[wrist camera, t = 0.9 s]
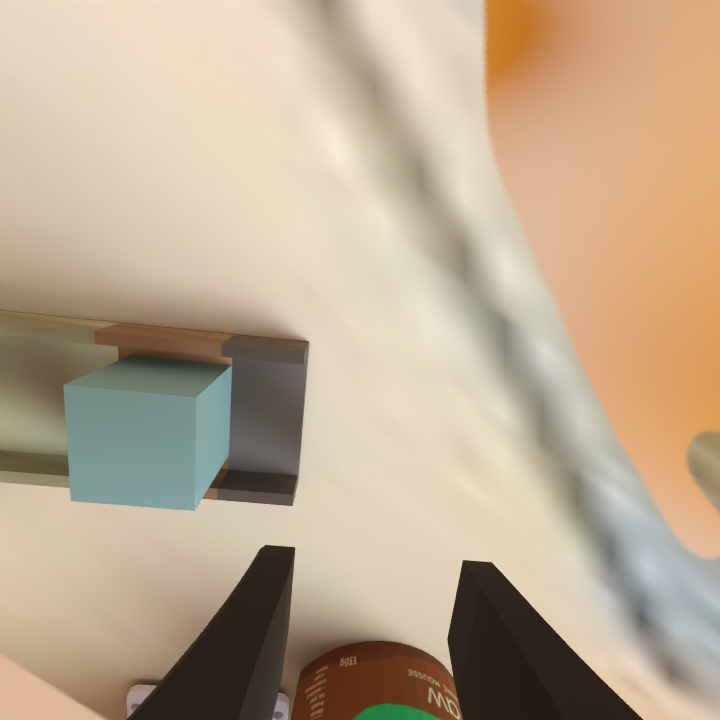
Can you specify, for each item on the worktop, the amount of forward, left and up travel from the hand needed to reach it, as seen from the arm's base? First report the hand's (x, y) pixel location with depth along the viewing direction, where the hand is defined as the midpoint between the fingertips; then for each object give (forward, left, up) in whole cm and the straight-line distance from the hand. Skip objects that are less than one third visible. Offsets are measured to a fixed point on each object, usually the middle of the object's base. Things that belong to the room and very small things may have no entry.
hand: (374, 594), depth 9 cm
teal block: (0, +8, -9) cm, 12 cm away
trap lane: (0, +10, -9) cm, 14 cm away
